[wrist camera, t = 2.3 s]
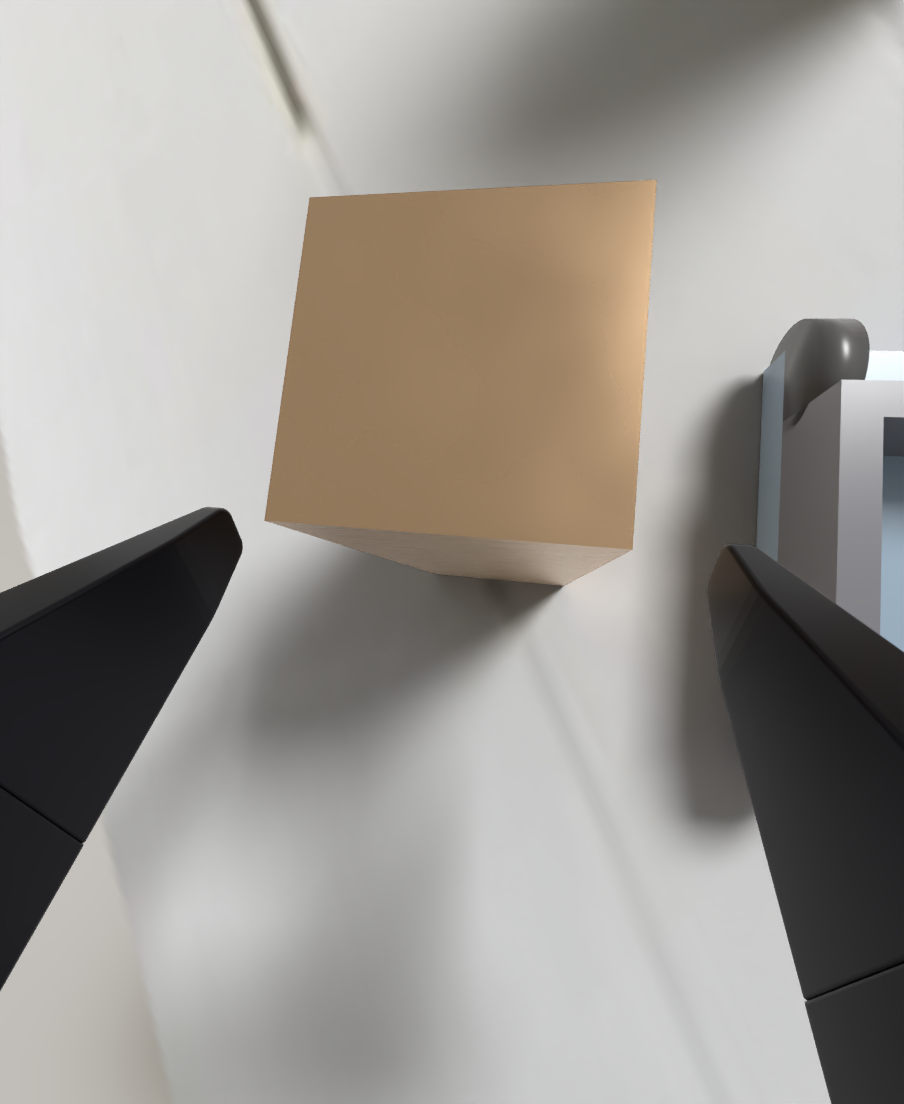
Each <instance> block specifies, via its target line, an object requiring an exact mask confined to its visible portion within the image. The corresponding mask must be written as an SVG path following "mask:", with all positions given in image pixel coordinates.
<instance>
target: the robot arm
mask: <svg viewBox="0 0 904 1104" xmlns="http://www.w3.org/2000/svg"><path fill="white" fill-rule="evenodd" d="M242 549H243V545H242V540H241V538H240V535H239V533H238V530H237V528H236V526H235V523H234V521H233V519H232V516H231V514H230V513H229V512H228V511H227V510H226V509H224V508H213V507H205V508H202V509H199V510H197V511H194V512H192V513H190V514H187V515H185V516H182V517H180V518H178V519H175V520H173V521H171V522H168V523H166V524H163V525H161V526H159V527H156V528H154V529H152V530H149V531H147V532H144V533H142V534H140V535H137V536H135V537H132V538H130V539H128V540H125V541H123V542H121V543H118V544H116V545H113V546H111V547H109V548H106V549H104V550H101V551H99V552H97V553H94V554H92V555H90V556H87V557H85V558H82V559H80V560H78V561H75V562H73V563H70V564H68V565H66V566H63V567H61V568H59V569H56V570H54V571H51V572H49V573H47V574H44V575H42V576H39V577H37V578H35V579H32V580H30V581H28V582H25V583H23V584H21V585H18V586H16V587H13V588H11V589H9V590H6V591H4V592H1V593H0V990H1V989H2V987H3V985H4V984H5V982H6V980H7V978H8V977H9V975H10V973H11V971H12V969H13V968H14V966H15V964H16V962H17V961H18V959H19V957H20V956H21V954H22V952H23V950H24V948H25V947H26V945H27V943H28V942H29V940H30V938H31V936H32V935H33V933H34V931H35V929H36V927H37V926H38V924H39V922H40V921H41V919H42V917H43V915H44V914H45V912H46V910H47V908H48V907H49V905H50V903H51V901H52V899H53V898H54V896H55V894H56V892H57V891H58V889H59V887H60V886H61V884H62V882H63V880H64V879H65V877H66V875H67V873H68V872H69V870H70V868H71V866H72V865H73V863H74V861H75V859H76V858H77V856H78V854H79V852H80V851H81V849H82V847H83V843H84V842H85V841H86V839H87V838H88V836H89V834H90V832H91V831H92V829H93V827H94V825H95V824H96V822H97V820H98V818H99V817H100V815H101V813H102V811H103V810H104V808H105V806H106V804H107V803H108V801H109V799H110V797H111V796H112V794H113V792H114V790H115V789H116V787H117V785H118V783H119V782H120V780H121V778H122V776H123V775H124V773H125V771H126V769H127V768H128V766H129V764H130V762H131V761H132V759H133V757H134V755H135V754H136V752H137V750H138V749H139V747H140V745H141V743H142V742H143V740H144V738H145V736H146V735H147V733H148V731H149V729H150V728H151V726H152V724H153V722H154V721H155V719H156V717H157V715H158V714H159V712H160V710H161V708H162V707H163V705H164V703H165V701H166V700H167V698H168V696H169V694H170V693H171V691H172V689H173V687H174V686H175V684H176V682H177V680H178V679H179V677H180V675H181V673H182V672H183V670H184V668H185V666H186V665H187V663H188V661H189V659H190V658H191V656H192V654H193V652H194V651H195V649H196V647H197V645H198V644H199V642H200V640H201V638H202V637H203V635H204V633H205V631H206V630H207V628H208V626H209V624H210V622H211V621H212V619H213V617H214V615H215V613H216V610H217V608H218V606H219V604H220V602H221V599H222V597H223V595H224V593H225V590H226V588H227V586H228V583H229V581H230V579H231V577H232V574H233V572H234V570H235V568H236V565H237V563H238V561H239V558H240V556H241V554H242ZM707 595H708V603H709V611H710V619H711V626H712V634H713V642H714V649H715V657H716V664H717V670H718V676H719V680H720V684H721V688H722V692H723V696H724V700H725V703H726V707H727V711H728V715H729V718H730V722H731V726H732V730H733V734H734V737H735V741H736V745H737V749H738V752H739V756H740V760H741V764H742V767H743V771H744V775H745V779H746V782H747V786H748V790H749V794H750V798H751V801H752V805H753V809H754V813H755V816H756V820H757V824H758V828H759V831H760V835H761V839H762V843H763V847H764V850H765V854H766V858H767V862H768V865H769V869H770V873H771V877H772V880H773V884H774V888H775V892H776V896H777V899H778V903H779V907H780V911H781V914H782V918H783V922H784V926H785V929H786V933H787V937H788V941H789V944H790V948H791V952H792V956H793V960H794V963H795V967H796V971H797V975H798V978H799V982H800V986H801V990H802V993H803V997H804V998H805V999H806V1000H807V1001H805V1006H806V1010H807V1014H808V1018H809V1021H810V1025H811V1029H812V1033H813V1037H814V1040H815V1044H816V1048H817V1052H818V1055H819V1059H820V1063H821V1067H822V1070H823V1074H824V1078H825V1082H826V1086H827V1089H828V1093H829V1097H830V1101H831V1104H904V652H903V651H902V650H900V649H899V648H898V647H896V646H895V645H893V644H892V643H891V642H889V641H888V640H886V639H885V638H884V637H882V636H881V635H879V634H878V633H877V632H875V631H874V630H872V629H871V628H870V627H868V626H867V625H865V624H864V623H863V622H861V621H860V620H858V619H857V618H856V617H854V616H853V615H851V614H850V613H849V612H847V611H846V610H844V609H843V608H841V607H840V606H839V605H837V604H836V603H834V602H833V601H832V600H830V599H829V598H827V597H826V596H825V595H823V594H822V593H820V592H819V591H818V590H816V589H815V588H813V587H812V586H811V585H809V584H808V583H806V582H805V581H804V580H802V579H801V578H799V577H798V576H797V575H795V574H794V573H792V572H791V571H790V570H788V569H787V568H785V567H784V566H782V565H781V564H780V563H778V562H777V561H775V560H774V559H773V558H771V557H770V556H768V555H767V554H766V553H764V552H763V551H761V550H760V549H759V548H757V547H755V546H753V545H746V544H731V543H730V544H727V545H725V546H724V547H723V548H722V549H721V551H720V554H719V556H718V559H717V561H716V564H715V566H714V569H713V571H712V574H711V576H710V578H709V581H708V587H707Z"/></svg>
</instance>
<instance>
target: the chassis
mask: <svg viewBox="0 0 904 1104" xmlns="http://www.w3.org/2000/svg"><path fill="white" fill-rule="evenodd" d="M756 547H757V548H759V549H760V550H761V551H763V552H764V553H766V554H767V555H768V556H770V557H771V558H773V559H774V560H775V561H777V562H778V563H780V564H781V565H782V566H784V567H785V568H787V569H788V570H790V571H791V572H792V573H794V574H795V575H797V576H798V577H799V578H801V579H802V580H804V581H805V582H806V583H808V584H809V585H811V586H812V587H813V588H815V589H816V590H818V591H819V592H820V593H822V594H823V595H825V596H826V597H827V598H829V599H830V600H832V601H833V602H834V603H836V604H837V605H839V606H840V607H841V608H843V609H844V610H846V611H847V612H849V613H850V614H851V615H853V616H854V617H856V618H857V619H858V620H860V621H861V622H863V623H864V624H865V625H867V626H868V627H870V628H871V629H872V630H874V631H875V632H877V633H878V634H879V635H881V636H882V637H884V638H885V639H886V640H888V641H889V642H891V643H892V644H893V645H895V646H896V647H898V648H899V649H900V650H902V651H903V652H904V351H870V350H869V338H868V334H867V331H866V329H865V327H864V326H863V324H862V323H861V322H859V321H858V320H855V319H803V320H801V321H799V322H797V323H796V324H795V325H793V326H792V327H791V328H790V330H789V331H788V332H787V333H786V334H785V336H784V337H783V339H782V340H781V342H780V344H779V346H778V347H777V349H776V351H775V354H774V356H773V358H772V361H771V363H770V366H769V367H768V368H767V369H766V370H765V371H764V372H763V394H762V419H761V443H760V468H759V492H758V516H757V541H756Z"/></svg>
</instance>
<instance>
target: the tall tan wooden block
mask: <svg viewBox="0 0 904 1104" xmlns="http://www.w3.org/2000/svg"><path fill="white" fill-rule="evenodd" d="M656 182H657V180H644V181H624V182H605V183H585V184H565V185H546V186H526V187H507V188H487V189H467V190H448V191H428V192H408V193H389V194H369V195H350V196H330V197H310V199H309V206H308V213H307V221H306V228H305V235H304V242H303V249H302V256H301V264H300V271H299V278H298V285H297V292H296V299H295V306H294V314H293V321H292V328H291V335H290V342H289V349H288V356H287V364H286V371H285V378H284V385H283V392H282V399H281V407H280V414H279V421H278V428H277V435H276V442H275V449H274V457H273V464H272V471H271V478H270V485H269V492H268V499H267V507H266V514H265V521H267V522H270V523H274V524H277V525H280V526H283V527H286V528H290V529H293V530H296V531H299V532H302V533H306V534H309V535H312V536H315V537H318V538H322V539H325V540H328V541H331V542H334V543H338V544H341V545H344V546H347V547H350V548H353V549H357V550H360V551H363V552H366V553H369V554H373V555H376V556H379V557H382V558H385V559H389V560H392V561H395V562H398V563H401V564H405V565H408V566H411V567H414V568H417V569H421V570H424V571H427V572H430V573H433V574H442V575H453V576H464V577H474V578H485V579H495V580H506V581H517V582H527V583H538V584H549V585H559V586H565V585H567V584H569V583H570V582H572V581H574V580H576V579H578V578H580V577H582V576H584V575H586V574H587V573H589V572H591V571H593V570H595V569H597V568H599V567H601V566H603V565H604V564H606V563H608V562H610V561H612V560H614V559H616V558H618V557H619V556H621V555H623V554H625V553H627V552H629V551H631V550H632V548H633V533H634V518H635V502H636V487H637V472H638V457H639V441H640V426H641V411H642V395H643V380H644V365H645V350H646V334H647V319H648V304H649V289H650V273H651V258H652V243H653V228H654V212H655V197H656Z"/></svg>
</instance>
